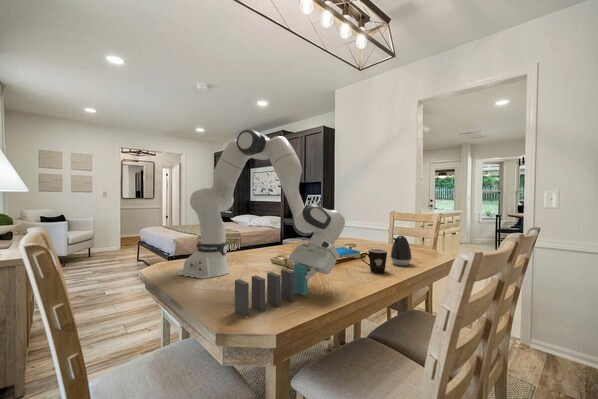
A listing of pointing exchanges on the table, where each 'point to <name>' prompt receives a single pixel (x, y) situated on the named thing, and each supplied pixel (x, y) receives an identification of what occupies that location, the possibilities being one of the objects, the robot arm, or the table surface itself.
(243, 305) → the domino
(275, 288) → the domino
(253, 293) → the domino
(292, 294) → the domino
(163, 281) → the table surface
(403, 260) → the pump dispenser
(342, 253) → the book
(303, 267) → the domino
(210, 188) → the robot arm
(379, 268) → the coffee mug
